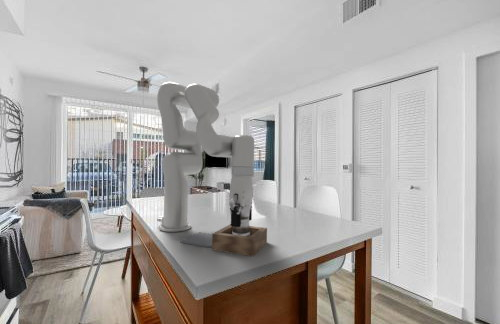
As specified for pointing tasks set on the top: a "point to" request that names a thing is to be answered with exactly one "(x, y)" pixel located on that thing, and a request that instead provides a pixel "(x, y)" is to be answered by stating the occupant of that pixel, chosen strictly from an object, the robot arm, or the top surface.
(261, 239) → the square wooden tray
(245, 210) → the plastic bottle
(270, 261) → the top surface
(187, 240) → the mat
